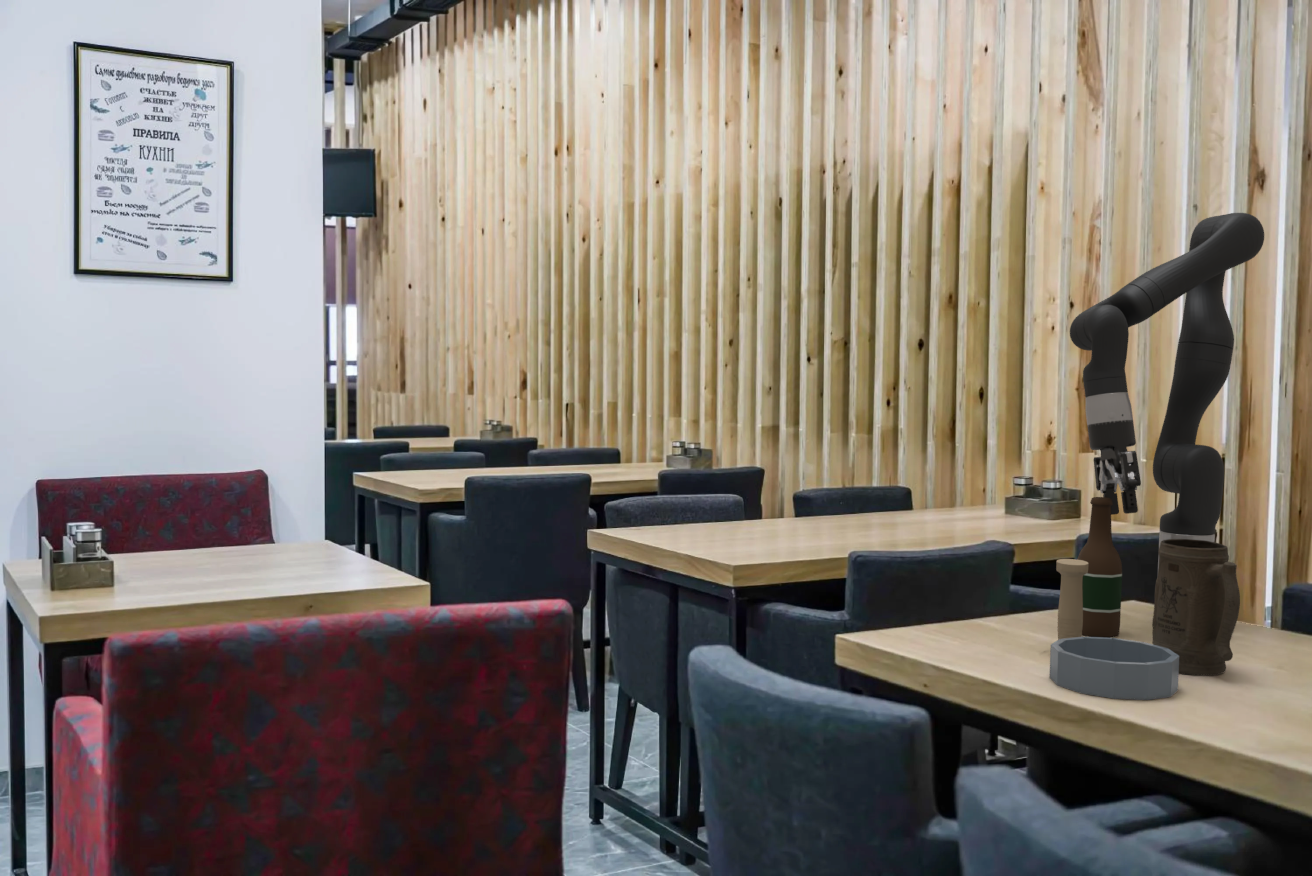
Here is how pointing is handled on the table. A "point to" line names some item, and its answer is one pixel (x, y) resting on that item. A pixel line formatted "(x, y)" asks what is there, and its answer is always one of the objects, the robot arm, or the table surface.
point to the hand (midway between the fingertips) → (1121, 513)
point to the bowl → (1114, 668)
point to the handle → (1071, 597)
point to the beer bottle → (1101, 575)
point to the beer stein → (1196, 604)
